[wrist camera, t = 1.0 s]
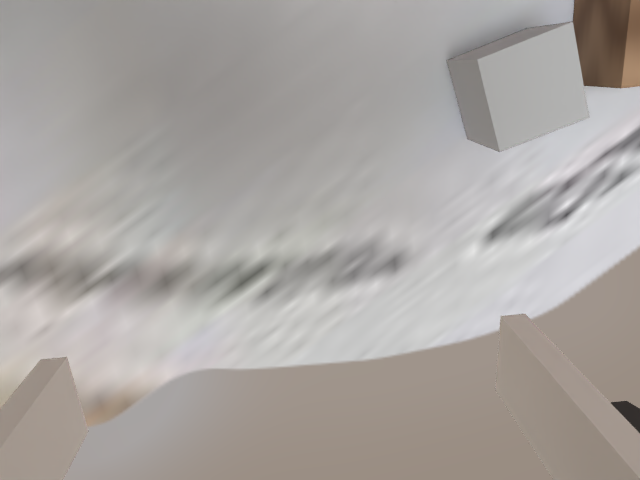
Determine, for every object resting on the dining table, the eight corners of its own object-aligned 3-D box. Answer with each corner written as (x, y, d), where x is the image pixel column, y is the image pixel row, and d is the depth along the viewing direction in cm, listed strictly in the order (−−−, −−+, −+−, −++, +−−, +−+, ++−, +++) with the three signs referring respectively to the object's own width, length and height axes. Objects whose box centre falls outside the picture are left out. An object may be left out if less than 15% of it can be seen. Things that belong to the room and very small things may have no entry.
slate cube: (445, 60, 35) (477, 59, 29) (525, 28, 35) (572, 21, 29) (466, 138, 37) (499, 152, 31) (542, 109, 37) (589, 117, 31)
